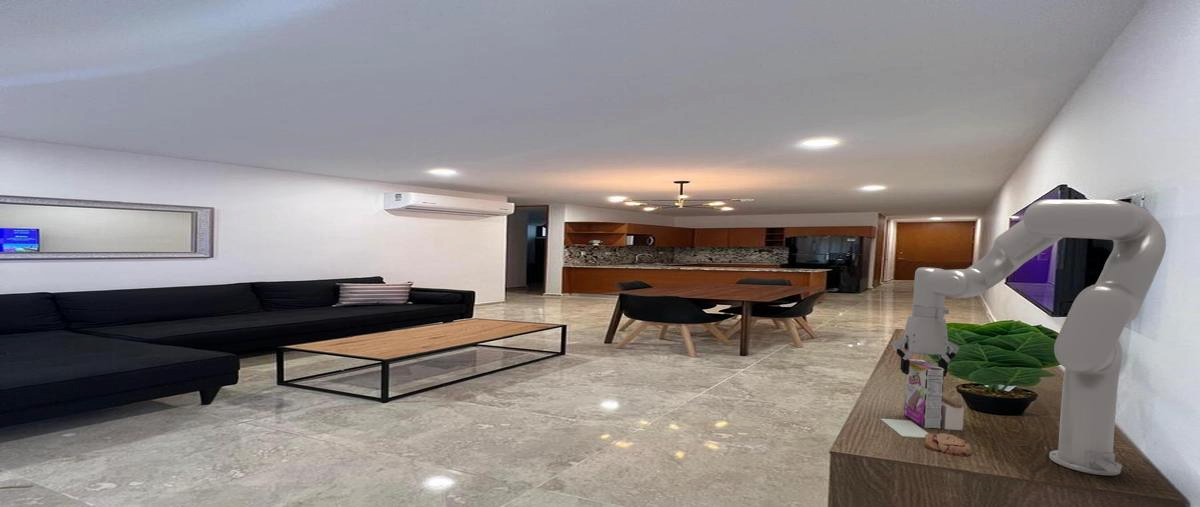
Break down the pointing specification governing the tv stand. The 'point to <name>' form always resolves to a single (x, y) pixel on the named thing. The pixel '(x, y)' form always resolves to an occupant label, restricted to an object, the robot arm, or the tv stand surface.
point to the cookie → (947, 444)
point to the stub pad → (905, 428)
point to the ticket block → (952, 414)
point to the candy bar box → (924, 394)
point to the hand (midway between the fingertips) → (923, 374)
